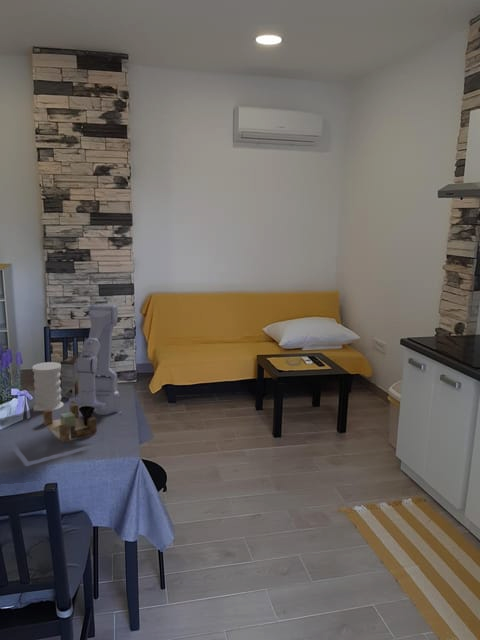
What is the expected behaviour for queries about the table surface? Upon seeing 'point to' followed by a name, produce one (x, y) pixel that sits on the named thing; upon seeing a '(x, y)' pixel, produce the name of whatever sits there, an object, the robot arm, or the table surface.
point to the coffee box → (69, 378)
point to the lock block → (68, 419)
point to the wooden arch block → (88, 427)
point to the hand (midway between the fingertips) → (87, 424)
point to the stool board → (58, 423)
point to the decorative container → (47, 386)
